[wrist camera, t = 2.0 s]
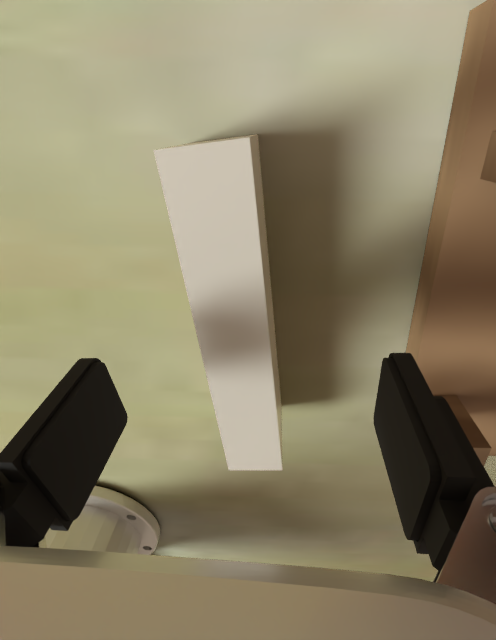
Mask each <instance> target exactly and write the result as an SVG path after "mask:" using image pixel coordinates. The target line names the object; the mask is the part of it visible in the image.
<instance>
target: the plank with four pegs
mask: <svg viewBox="0 0 496 640" xmlns="http://www.w3.org/2000/svg"><path fill="white" fill-rule="evenodd" d="M406 353H411V354H412V356H413V357H414V359H415V361H416V363H417V365H418V367H419V369H420V371H421V373H422V375H423V377H424V378H425V380H426V382H427V384H428V386H429V388H430V390H431V392H432V394H433V396H442V397H443V398H445V399H446V401H447V402H448V404H449V406H450V407H451V409H452V411H453V413H454V415H455V416H456V418H457V420H458V422H459V424H460V425H461V427H462V429H463V431H464V433H465V434H466V436H467V438H468V440H469V442H470V443H471V445H472V447H473V449H474V451H475V452H476V454H477V456H478V458H479V459H480V461H481V463H482V465H483V467H484V464H485V462H486V460H487V458H488V456H496V0H487V1H486V2H484V3H482V4H481V5H479V6H477V7H476V8H474V9H472V10H471V11H470V13H469V18H468V24H467V29H466V34H465V40H464V45H463V50H462V56H461V61H460V66H459V71H458V77H457V82H456V87H455V93H454V98H453V103H452V109H451V114H450V119H449V125H448V130H447V135H446V141H445V146H444V151H443V157H442V162H441V167H440V173H439V178H438V183H437V189H436V194H435V199H434V205H433V210H432V215H431V221H430V226H429V231H428V237H427V242H426V247H425V253H424V258H423V263H422V269H421V274H420V279H419V285H418V290H417V295H416V301H415V306H414V311H413V317H412V322H411V327H410V333H409V338H408V343H407V349H406Z"/></svg>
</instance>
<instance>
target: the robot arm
mask: <svg viewBox="0 0 496 640" xmlns="http://www.w3.org/2000/svg"><path fill="white" fill-rule="evenodd" d="M126 423H127V413H126V411H125V408H124V406H123V404H122V402H121V399H120V397H119V395H118V393H117V390H116V388H115V386H114V384H113V381H112V379H111V377H110V374H109V372H108V370H107V368H106V365H105V364H104V363H103V362H101V361H100V360H99V359H97V358H82V359H79V360H78V361H77V362H76V363H75V364H74V366H73V367H72V368H71V369H70V370H69V372H68V373H67V374H66V375H65V376H64V378H63V379H62V380H61V381H60V382H59V384H58V385H57V386H56V387H55V388H54V390H53V391H52V392H51V393H50V394H49V396H48V397H47V398H46V399H45V400H44V402H43V403H42V404H41V405H40V406H39V408H38V409H37V410H36V411H35V412H34V414H33V415H32V416H31V417H30V418H29V420H28V421H27V422H26V423H25V424H24V425H23V427H22V428H21V429H20V430H19V431H18V433H17V434H16V435H15V436H14V437H13V439H12V440H11V441H10V442H9V443H8V445H7V446H6V447H5V448H4V449H3V451H2V452H1V453H0V640H496V487H495V486H494V485H493V483H492V481H491V479H490V477H489V476H488V474H487V472H486V470H485V468H484V467H483V465H482V463H481V461H480V459H479V458H478V456H477V454H476V452H475V451H474V449H473V447H472V445H471V443H470V442H469V440H468V438H467V436H466V434H465V433H464V431H463V429H462V427H461V425H460V424H459V422H458V420H457V418H456V416H455V415H454V413H453V411H452V409H451V407H450V406H449V404H448V402H447V401H446V399H445V398H443V397H442V396H433V394H432V392H431V390H430V388H429V386H428V384H427V382H426V380H425V378H424V377H423V375H422V373H421V371H420V369H419V367H418V365H417V363H416V361H415V359H414V357H413V356H412V354H411V353H391V354H390V355H389V358H384V359H383V361H382V367H381V374H380V380H379V386H378V393H377V399H376V405H375V412H374V426H375V430H376V434H377V437H378V441H379V444H380V448H381V452H382V455H383V459H384V462H385V466H386V469H387V473H388V476H389V480H390V483H391V487H392V491H393V494H394V498H395V501H396V505H397V508H398V512H399V515H400V519H401V522H402V526H403V530H404V533H405V536H406V538H407V539H408V540H413V541H414V544H415V547H416V551H417V553H420V554H429V556H430V559H431V562H432V565H433V567H435V568H436V569H437V570H438V572H437V574H436V576H435V578H434V581H433V582H430V581H426V580H422V579H416V578H409V577H402V576H396V575H389V574H380V573H370V572H360V571H349V570H339V569H328V568H317V567H304V566H291V565H278V564H265V563H252V562H240V561H227V560H213V559H199V558H185V557H171V556H157V555H150V554H151V553H152V552H154V551H155V549H156V547H157V544H158V541H159V537H160V527H159V524H158V522H157V520H156V519H155V517H154V516H153V515H152V514H151V512H149V511H148V510H147V509H146V508H145V507H144V506H143V505H141V504H140V503H138V502H137V501H135V500H133V499H132V498H130V497H128V496H126V495H124V494H121V493H119V492H116V491H113V490H111V489H107V488H104V487H100V486H96V485H95V484H96V482H97V481H98V479H99V477H100V475H101V473H102V471H103V469H104V467H105V465H106V463H107V461H108V459H109V457H110V455H111V453H112V451H113V449H114V447H115V445H116V443H117V441H118V439H119V437H120V435H121V434H122V432H123V430H124V428H125V426H126Z"/></svg>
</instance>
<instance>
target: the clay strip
mask: <svg viewBox="0 0 496 640" xmlns="http://www.w3.org/2000/svg"><path fill="white" fill-rule="evenodd" d="M154 154H155V159H156V163H157V167H158V171H159V176H160V180H161V184H162V188H163V193H164V197H165V201H166V205H167V210H168V214H169V218H170V222H171V227H172V231H173V235H174V239H175V244H176V248H177V252H178V256H179V261H180V265H181V269H182V273H183V278H184V282H185V286H186V290H187V295H188V299H189V303H190V307H191V312H192V316H193V320H194V324H195V329H196V333H197V337H198V341H199V346H200V350H201V354H202V358H203V363H204V367H205V371H206V375H207V380H208V384H209V388H210V393H211V397H212V401H213V405H214V410H215V414H216V418H217V422H218V427H219V431H220V435H221V439H222V444H223V448H224V452H225V456H226V461H227V465H228V469H229V470H282V405H281V394H280V382H279V371H278V359H277V348H276V336H275V325H274V313H273V302H272V290H271V279H270V268H269V256H268V245H267V233H266V222H265V210H264V199H263V187H262V176H261V164H260V153H259V141H258V134H255V135H248V136H240V137H233V138H225V139H218V140H210V141H203V142H195V143H188V144H183V145H178V146H172V147H167V148H162V149H156V150H154Z"/></svg>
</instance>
